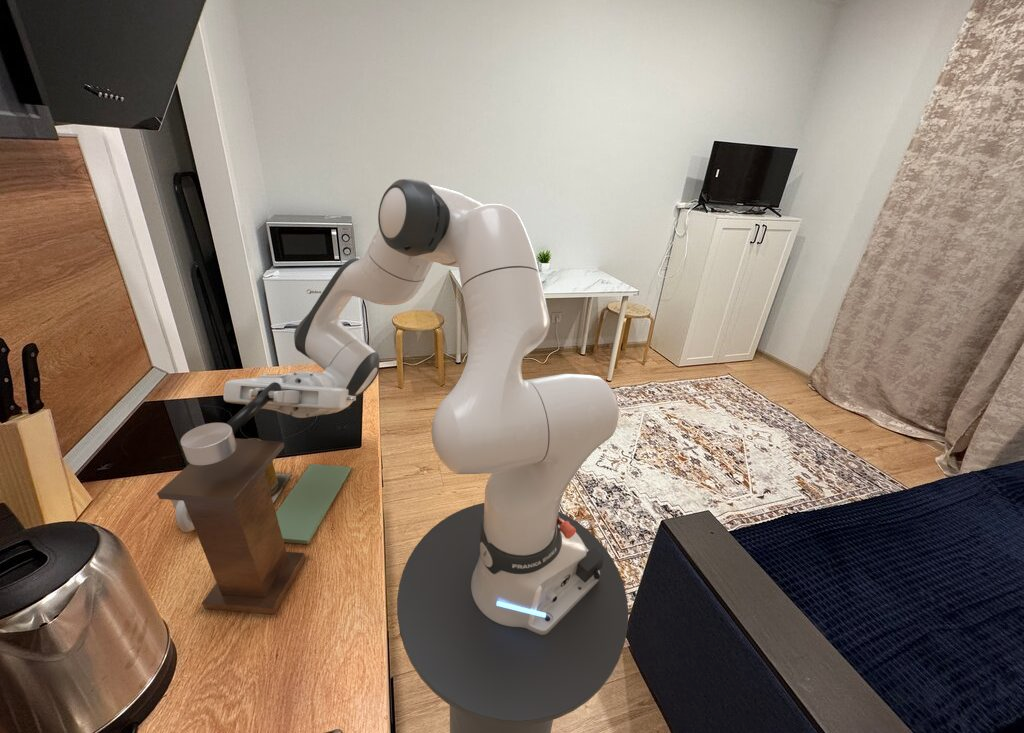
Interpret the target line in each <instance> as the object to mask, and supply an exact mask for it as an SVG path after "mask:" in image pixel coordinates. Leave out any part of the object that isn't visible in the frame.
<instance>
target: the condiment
mask: <svg viewBox="0 0 1024 733" xmlns="http://www.w3.org/2000/svg"><path fill="white" fill-rule="evenodd" d="M249 439H251V440H263V439H262V438H259V437H251V438H249ZM264 471H265V475H266V479H267V482H268V486H269V490H270V493H271V497H272V501H273V504H274V503H275V501H276V500H277V499H278V497H279V496H280V494H281V493H282V491H283V489H284V487H285V486H286V484H287V482H288V481H289V479H290V477H291V476H292V473H276V470H275V466H274V460H273V461H272V462H271V463H270V464H269V466H268V467H267V468H266V469H265V470H264Z"/></svg>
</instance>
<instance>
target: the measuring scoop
mask: <svg viewBox="0 0 1024 733" xmlns="http://www.w3.org/2000/svg"><path fill="white" fill-rule="evenodd" d="M280 390H281V386H280V384H279V383H277V382H273V383H271V384H270V385H269V386H268V387H266V388H265V389H264V390H263V391H262V392H261V393H260V394H259V395H257V396H256V397H255V398H254V399H253V400H252V401H251V402H249V403H248V404H245V406H244V407H242V409H240V410H239V411H238V412H237V413H236V414H235V415H234V416H232V417H231V418H230V419H229V420H228V421H227V422H226V423H225V422H210V423H205V424H202V425H199V426H196V427H194V428H192V429H190V430H189V431H187V432H186V433H184V434H183V435H182V436H181V438H180V445H181V448H182V450H183V453H184V457H185V459H186V461H187V462H188V463H189V464H193V465H209V464H213V463H217V462H219V461H222V460H224V459H226V458H227V457H229V456H230V455H231V454H233V453H234V451H235V450H236V448H237V444H236V440H235V438H236V437H235V434H236V433H237V432H239V430H241V428H243V427H244V425H245V424H246V423H247V422H249V421H250V420H251V419H252V418H253V417H254V416H255V415H256V414H257V413H258V412H259V411H260V410H262V407H263V406H264V405H265V404H266V403H268V402H269V401H268V397H269V396H268V393H269V391H280Z"/></svg>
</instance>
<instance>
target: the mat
mask: <svg viewBox="0 0 1024 733" xmlns="http://www.w3.org/2000/svg"><path fill="white" fill-rule="evenodd" d="M351 470H352V469H351V466H346V465H345V466H343V465H334V464H333V465H331V464H317V463H310V464H309V465H308V467H307V468H306V469H305V471H304V472H303V474H302V475H301V476H300V478H299V479H298V480H297V482H296V483H295V485H294V486H293V488H291V489H290V490H291V491H289V493H288V494H287V496H286V497H285V498H284V500H283V501H282V502H281V504H280V506H279V507H278V509H277V510H275V512H276V515H277V519H278V523H279V526H280V530H281V534H282V537H283V541H284V543H286V544H287V543H288V544H289V543H290V544H300V545H309V544H310V542H311V540H312V539H313V537H314V535H315V534H316V532H317V530H318V528H319V526H320V525H321V523H322V521H323V520H324V518H325V515H326V514H327V512H328V511H329V509H330V507H331V505H332V504H333V502H334V500H335V498H336V497H337V495H338V493H339V491H340V490H341V488H342V486H343V485H344V483H345V481H346V479H347V478H348V476H349V475H350V473H351Z"/></svg>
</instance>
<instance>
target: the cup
mask: <svg viewBox="0 0 1024 733" xmlns="http://www.w3.org/2000/svg"><path fill="white" fill-rule="evenodd" d="M170 501H171V503H172V506H173V508H174V510H175V512H174V516H175V517H174V518H175V523H176V525H177V527H178V529H179V530H180V531H182V532H184V533H190V532H192V531H195V528H194V526H193V523H192V521H191V518H190V516H189V513H188V511H187V509H186V506H185V504H184V501H181V500H170Z"/></svg>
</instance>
